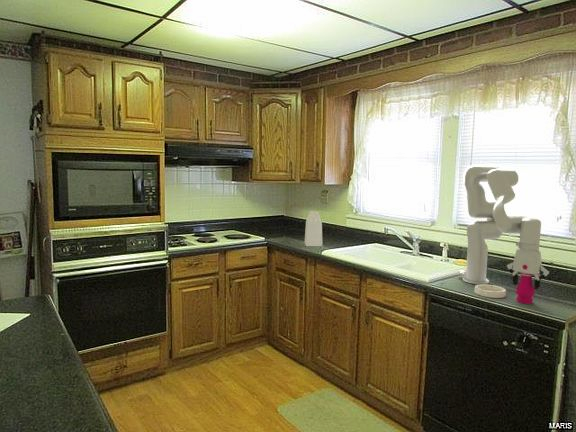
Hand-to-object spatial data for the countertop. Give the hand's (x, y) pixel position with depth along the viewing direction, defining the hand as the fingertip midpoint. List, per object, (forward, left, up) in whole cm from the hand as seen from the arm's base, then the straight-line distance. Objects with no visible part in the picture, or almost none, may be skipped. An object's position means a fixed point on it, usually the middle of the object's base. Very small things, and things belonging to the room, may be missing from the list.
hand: (525, 286), depth 181 cm
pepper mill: (0, 0, -7) cm, 7 cm away
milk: (-149, +16, -7) cm, 150 cm away
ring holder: (-15, 0, -7) cm, 17 cm away
